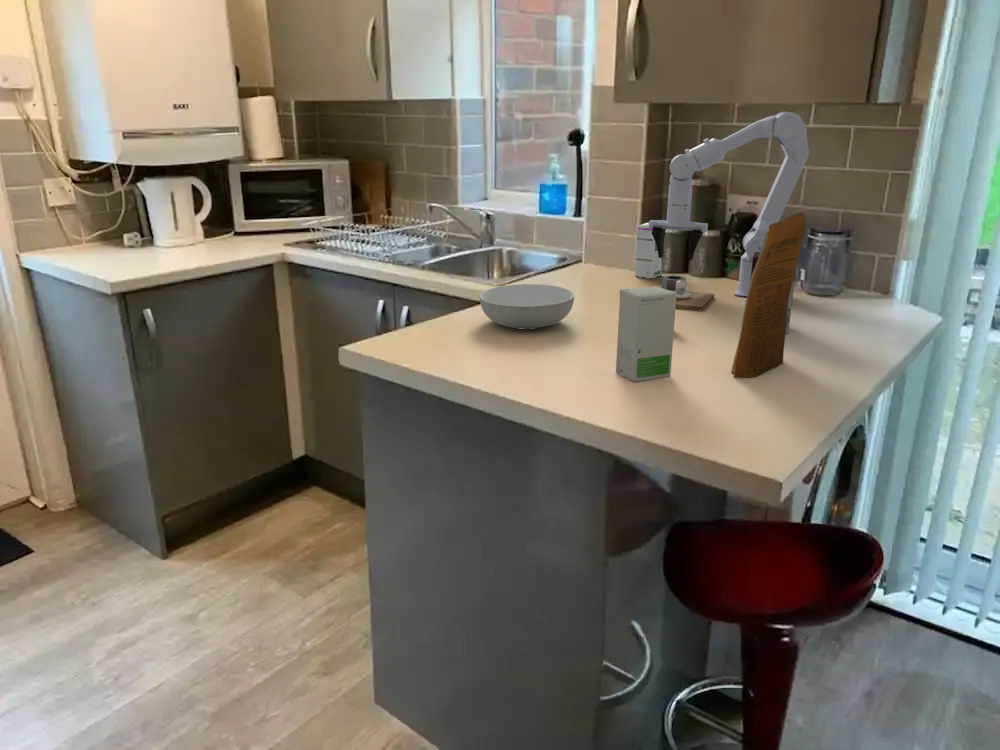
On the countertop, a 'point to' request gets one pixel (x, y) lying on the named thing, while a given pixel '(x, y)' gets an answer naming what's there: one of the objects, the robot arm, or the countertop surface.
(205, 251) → the countertop surface
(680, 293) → the piston post
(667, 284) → the ring
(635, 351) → the skincare box
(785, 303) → the pancake mix bag
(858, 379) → the countertop surface
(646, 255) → the syrup box
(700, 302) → the board
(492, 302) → the serving bowl
